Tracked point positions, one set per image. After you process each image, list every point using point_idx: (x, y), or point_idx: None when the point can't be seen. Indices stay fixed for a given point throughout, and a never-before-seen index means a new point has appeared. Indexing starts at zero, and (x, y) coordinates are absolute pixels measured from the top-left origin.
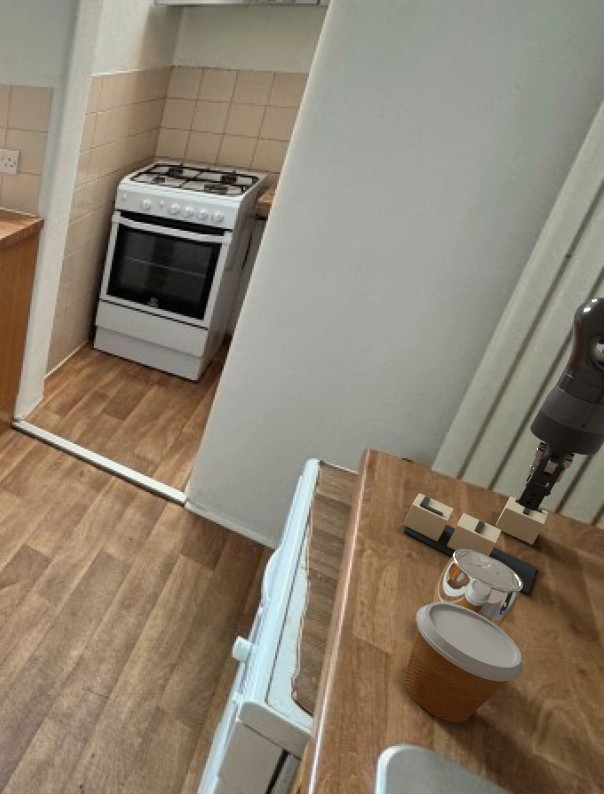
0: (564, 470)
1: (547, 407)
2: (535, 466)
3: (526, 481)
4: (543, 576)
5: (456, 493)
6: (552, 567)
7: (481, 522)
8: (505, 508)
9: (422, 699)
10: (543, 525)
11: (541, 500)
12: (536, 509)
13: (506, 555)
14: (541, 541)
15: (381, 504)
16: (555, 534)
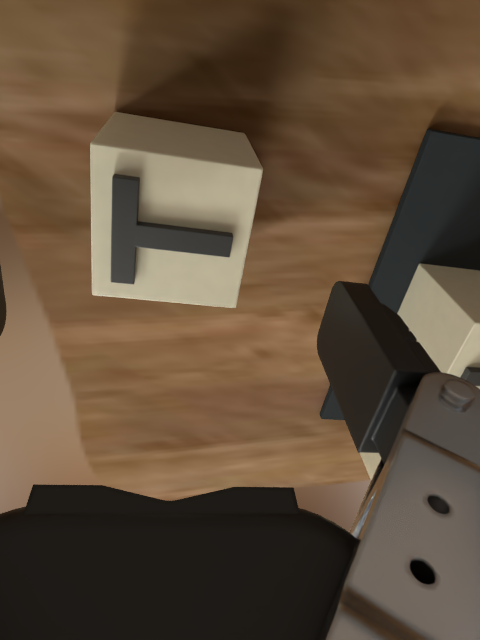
0: (474, 628)
1: None
2: None
3: (1, 325)
4: (458, 104)
5: (81, 351)
6: (368, 66)
7: (472, 379)
8: (234, 304)
9: None
10: (258, 165)
11: (395, 332)
12: (364, 286)
13: (413, 221)
14: (177, 95)
15: (342, 464)
16: (42, 29)
